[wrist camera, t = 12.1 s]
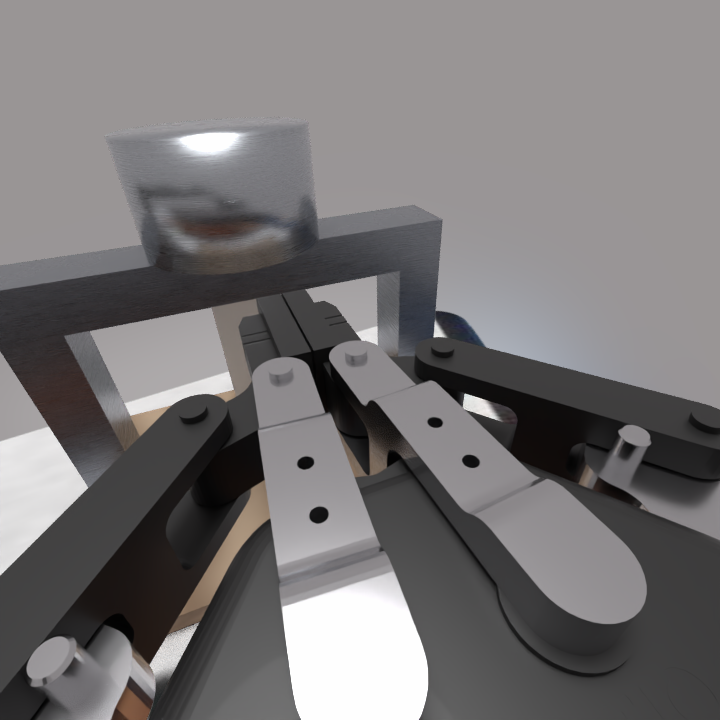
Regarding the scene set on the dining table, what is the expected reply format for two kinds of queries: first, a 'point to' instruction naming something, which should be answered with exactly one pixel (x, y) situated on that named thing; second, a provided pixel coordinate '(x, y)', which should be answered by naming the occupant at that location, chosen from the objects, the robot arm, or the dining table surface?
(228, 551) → the track board
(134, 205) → the grey two-legged stand
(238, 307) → the plug
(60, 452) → the dining table surface
